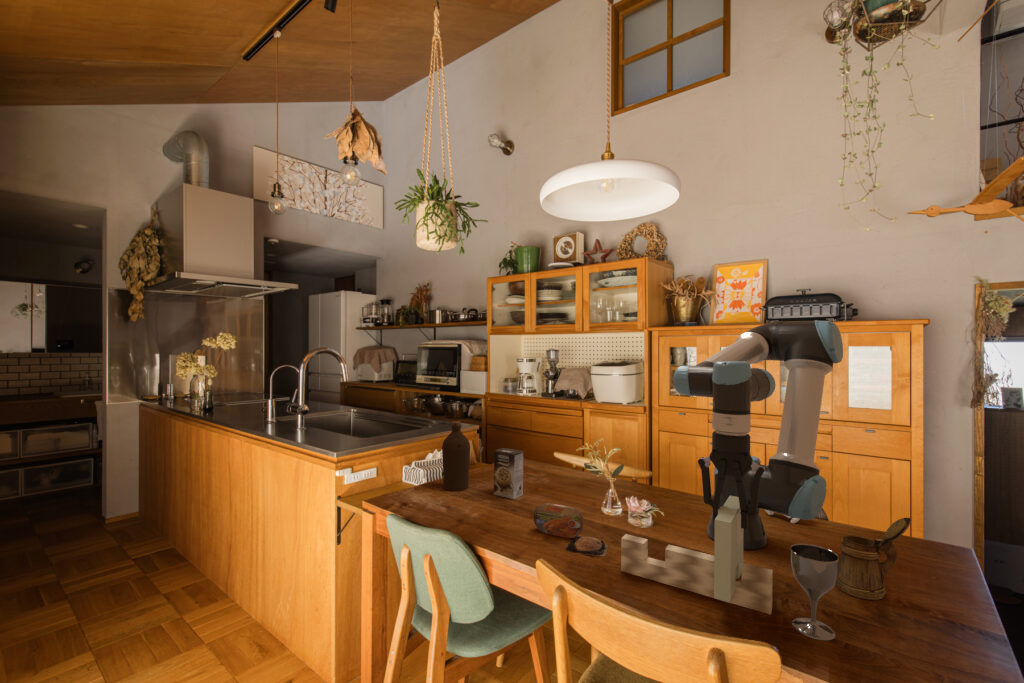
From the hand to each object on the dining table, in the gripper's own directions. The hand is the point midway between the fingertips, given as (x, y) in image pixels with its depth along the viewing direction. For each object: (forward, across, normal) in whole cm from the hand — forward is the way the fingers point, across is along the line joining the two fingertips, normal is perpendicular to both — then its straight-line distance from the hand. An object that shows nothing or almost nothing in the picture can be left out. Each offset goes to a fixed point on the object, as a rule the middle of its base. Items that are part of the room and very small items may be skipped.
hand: (729, 539), depth 101 cm
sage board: (+9, 0, 0) cm, 9 cm away
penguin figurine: (+13, +6, +61) cm, 62 cm away
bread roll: (+14, -36, +5) cm, 39 cm away
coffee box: (+13, -78, +29) cm, 84 cm away
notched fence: (+13, -8, 0) cm, 15 cm away
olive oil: (+13, -99, +25) cm, 103 cm away
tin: (+13, -47, +9) cm, 50 cm away
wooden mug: (+13, +26, +21) cm, 36 cm away
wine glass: (+13, +15, -2) cm, 20 cm away
